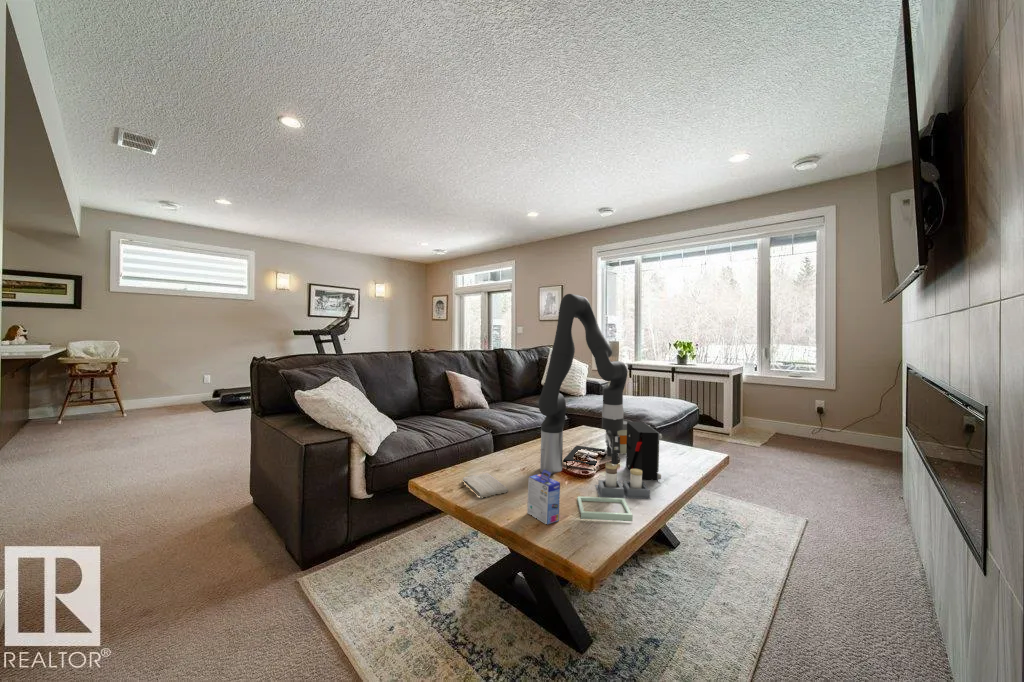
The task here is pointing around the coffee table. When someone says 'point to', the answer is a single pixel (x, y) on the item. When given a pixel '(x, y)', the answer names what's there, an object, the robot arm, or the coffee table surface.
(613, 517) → the pale green rectangular frame
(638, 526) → the coffee table surface
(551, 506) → the ink cartridge box
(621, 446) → the reusable coffee cup
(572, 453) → the dark grey flat frame
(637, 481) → the fuse block
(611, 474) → the fuse
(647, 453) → the electrical component
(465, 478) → the washcloth
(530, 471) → the coffee table surface
